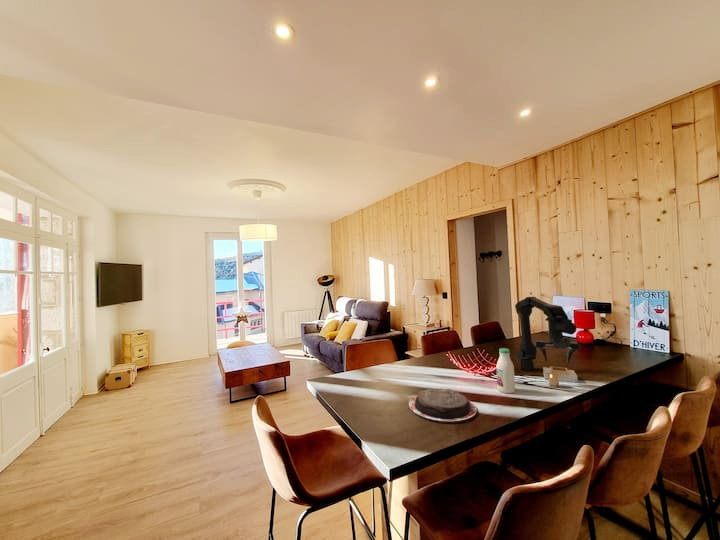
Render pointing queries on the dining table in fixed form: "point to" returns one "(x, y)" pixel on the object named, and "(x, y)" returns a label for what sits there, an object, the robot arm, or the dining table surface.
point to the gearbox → (561, 374)
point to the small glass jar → (553, 380)
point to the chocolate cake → (442, 406)
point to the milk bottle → (505, 372)
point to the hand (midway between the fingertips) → (557, 361)
